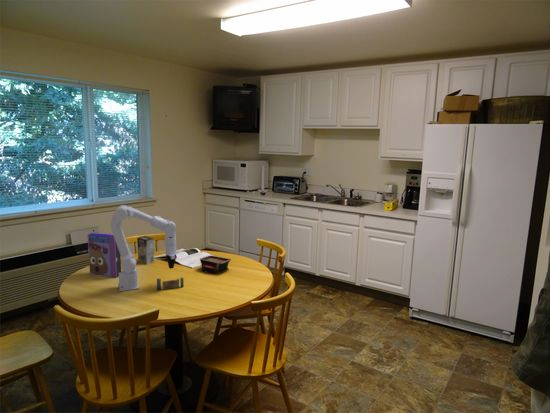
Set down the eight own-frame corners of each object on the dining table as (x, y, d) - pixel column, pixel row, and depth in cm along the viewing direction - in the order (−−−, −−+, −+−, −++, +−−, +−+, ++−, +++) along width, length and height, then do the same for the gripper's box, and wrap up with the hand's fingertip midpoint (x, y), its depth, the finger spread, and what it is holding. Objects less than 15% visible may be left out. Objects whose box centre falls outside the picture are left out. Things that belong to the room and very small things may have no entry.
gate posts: (157, 290, 197) (156, 280, 196) (156, 289, 199) (156, 278, 197) (183, 287, 202) (183, 276, 201) (183, 286, 204) (183, 275, 203)
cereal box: (90, 274, 218) (87, 234, 214) (95, 271, 222) (93, 232, 218) (116, 277, 214) (114, 236, 210) (121, 274, 218) (119, 234, 214)
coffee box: (137, 261, 242) (136, 237, 239) (145, 259, 247) (144, 235, 245) (147, 264, 237) (146, 240, 234) (155, 262, 243) (154, 237, 240)
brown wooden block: (162, 289, 198) (162, 281, 197) (162, 288, 199) (162, 280, 199) (179, 287, 201) (179, 279, 201) (178, 286, 203) (178, 278, 202)
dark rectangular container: (213, 267, 241) (210, 252, 240) (235, 268, 232) (232, 253, 230) (198, 275, 229) (195, 260, 228) (220, 277, 220) (217, 261, 218)
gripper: (180, 246, 197) (181, 271, 199) (175, 239, 210) (176, 263, 212) (166, 248, 194) (167, 273, 197) (162, 241, 207) (163, 264, 210)
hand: (171, 268), depth 204 cm, fingers closed
